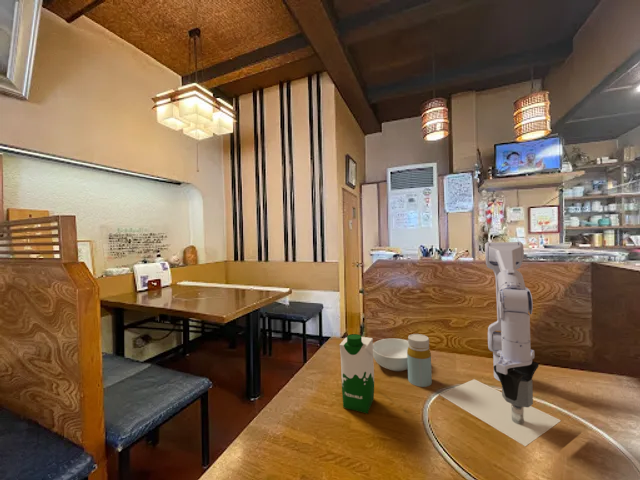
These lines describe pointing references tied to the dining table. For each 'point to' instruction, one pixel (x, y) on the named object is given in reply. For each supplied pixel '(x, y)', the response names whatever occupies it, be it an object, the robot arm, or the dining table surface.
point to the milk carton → (357, 372)
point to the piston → (517, 414)
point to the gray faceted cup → (522, 392)
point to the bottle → (419, 360)
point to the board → (499, 411)
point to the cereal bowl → (391, 353)
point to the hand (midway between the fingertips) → (517, 394)
